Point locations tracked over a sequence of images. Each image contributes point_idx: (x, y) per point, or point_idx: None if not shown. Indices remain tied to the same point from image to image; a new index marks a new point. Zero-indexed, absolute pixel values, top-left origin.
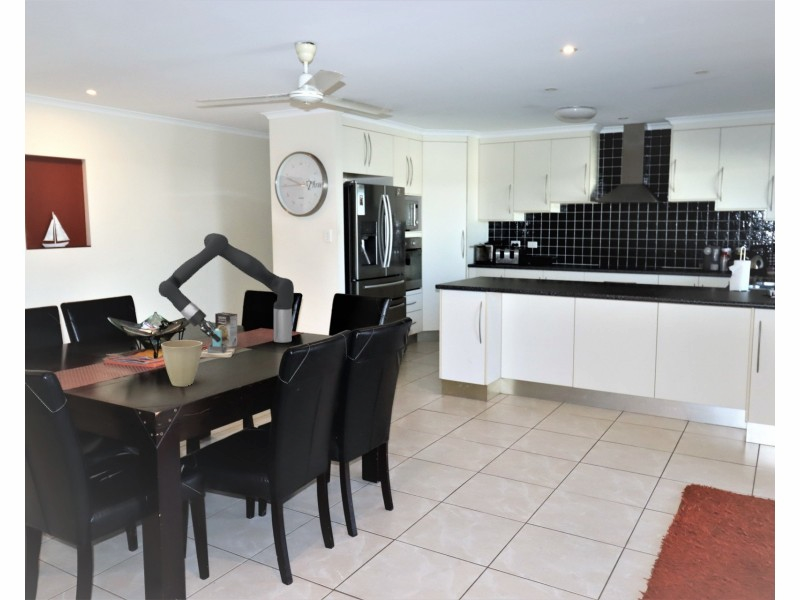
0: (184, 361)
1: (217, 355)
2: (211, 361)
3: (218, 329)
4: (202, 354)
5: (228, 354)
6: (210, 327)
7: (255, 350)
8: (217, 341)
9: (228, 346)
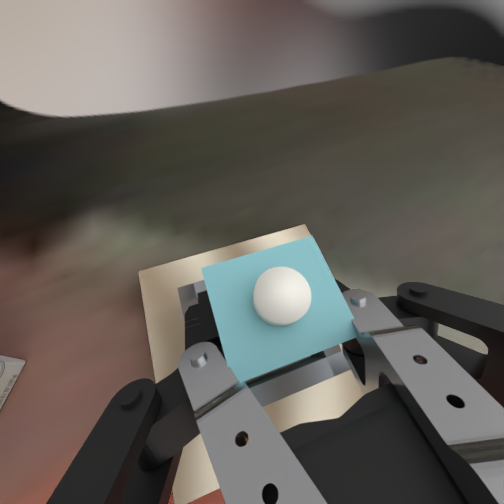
0: None
1: None
2: (419, 274)
3: (283, 269)
4: None
5: (303, 235)
6: (446, 354)
7: (118, 189)
8: None
9: (16, 374)
